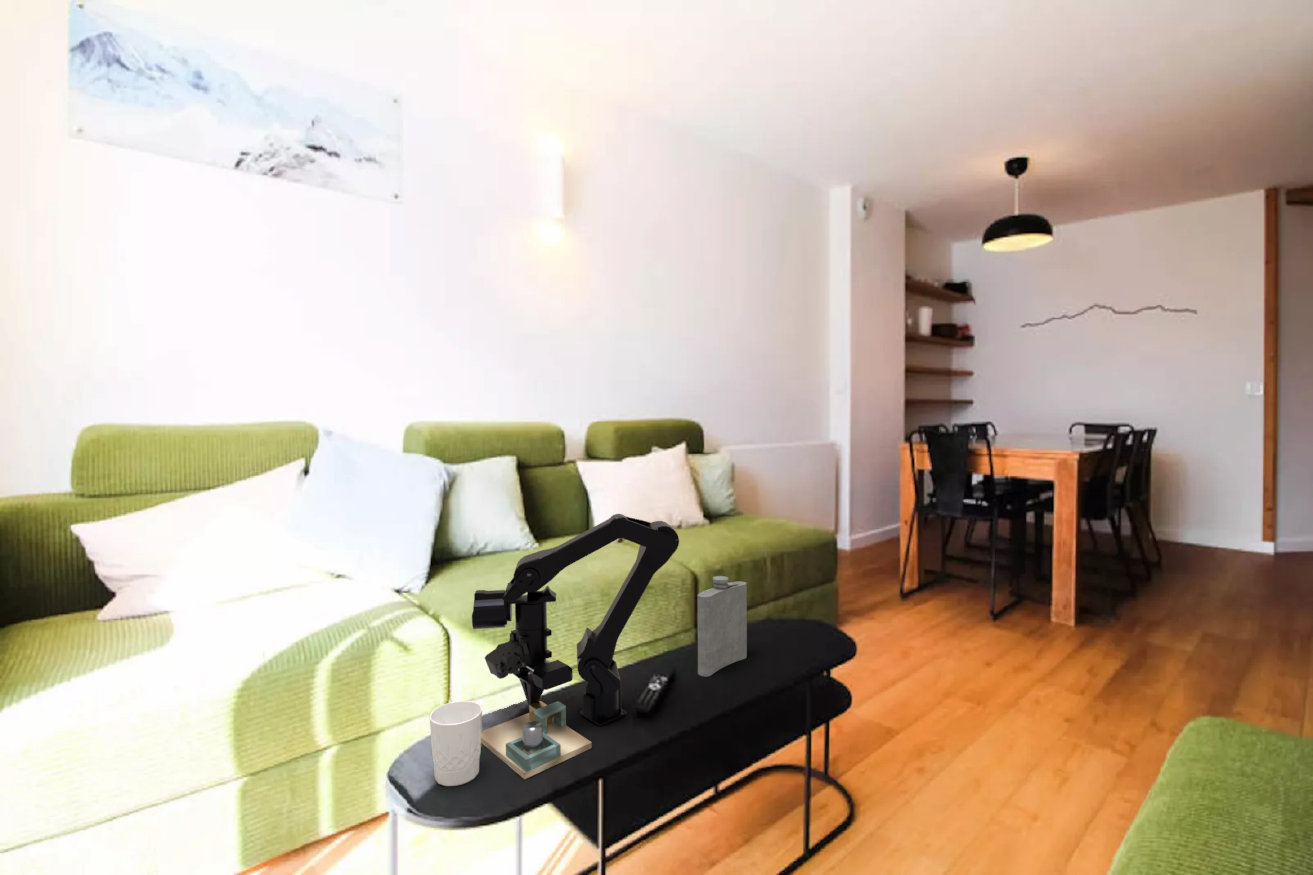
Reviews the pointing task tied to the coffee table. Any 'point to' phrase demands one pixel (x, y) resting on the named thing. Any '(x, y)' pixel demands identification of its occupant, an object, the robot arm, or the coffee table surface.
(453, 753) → the white cup
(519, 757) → the dock board
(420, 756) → the coffee table surface
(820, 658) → the coffee table surface
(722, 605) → the hip flask
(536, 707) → the tan wooden block
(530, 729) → the spigot peg
